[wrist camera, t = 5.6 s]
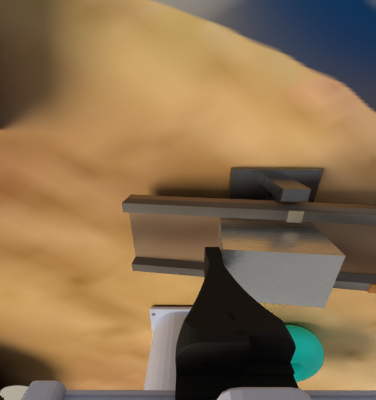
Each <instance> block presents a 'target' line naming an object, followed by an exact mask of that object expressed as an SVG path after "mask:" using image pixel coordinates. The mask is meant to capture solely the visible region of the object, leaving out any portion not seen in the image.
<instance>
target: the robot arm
mask: <svg viewBox="0 0 376 400" xmlns="http://www.w3.org/2000/svg"><path fill="white" fill-rule="evenodd" d="M204 277H205V279H204V282H203V285H202V288H201V290H200V292H199V295H198V297H197V299H196V301H195V302H194V304H193V306H192V307H151V308H150V319H151V327H152V335H153V338H152V344H151V350H150V355H149V361H148V367H147V373H146V379H145V385H144V390H66V388H65V385H64V384H63V383H62V382H60V381H33V382H32V383H31V384H30V386H29V388H28V389H27V391H26V393H25V394H24V396H23V398H22V399H21V400H376V391H323V390H301V389H299V388H298V385H297V383H296V381H295V378H294V376H293V375H294V374H295V373H294V369H293V367H292V365H291V360H292V358H293V355H294V353H295V349H296V345H295V342H294V340H293V338H292V336H291V334H290V332H289V331H288V329H287V327H286V326H285V324H284V322H283V321H282V320H280V319H279V318H278V317H276V316H275V315H274V314H272V313H271V312H269V311H268V310H267V309H265V308H264V307H263V306H262V305H260V304H259V303H258V302H257V301H256V300H255V299H254V298H253V297H251V296H250V295H249V294H248V293H247V292H246V291H245V290H244V289H243V288H242V287H241V286H240V285H239V283H238V282H237V281H236V280H235V279H234V278H233V276H232V275H231V274H230V273H229V271H228V270H227V268H226V267H225V266H224V264H223V259H222V253H221V250H220V248H219V247H205V251H204Z"/></svg>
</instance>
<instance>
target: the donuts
mask: <svg viewBox="0 0 376 400" xmlns="http://www.w3.org/2000/svg"><path fill="white" fill-rule="evenodd" d="M285 326H286V327H287V329H288V331H289V332H290V334H291V336H292V338H293V340H294V342H295V345H296V349H295V353H294V355H293V358H292V360H291V365H292V367H293V369H294V373H295V374H294V375H293V376H294V378H295V381H296V382H299V381H302V380H305V379H308V378H310V377H311V376H313V375H314V374H316V373H317V372H318V370H319V369H320V368H321V366H322V364H323V361H324V350H323V347H322V344H321V342H320V341H319V339H318V338H317V337H316V336H315V335H314V334H313V333H312V332H310V331H309V330H307V329H305V328H302V327H299V326H295V325H285Z"/></svg>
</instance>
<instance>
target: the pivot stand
mask: <svg viewBox="0 0 376 400" xmlns="http://www.w3.org/2000/svg"><path fill="white" fill-rule="evenodd" d="M322 172H323V169H320V168H231V172H230V183H229V193H228V199H246V200H270V201H280V202H313V201H314V198H315V194H316V191H317V188H318V185H319V181H320V178H321V175H322Z"/></svg>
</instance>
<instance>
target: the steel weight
mask: <svg viewBox="0 0 376 400" xmlns="http://www.w3.org/2000/svg"><path fill="white" fill-rule="evenodd" d="M218 247H219V248H220V250H221V253H222V259H223V264H224V266H225V267H226V268H227V270H228V271H229V273H230V274H231V275H232V276H233V278H234V279H235V280H236V281H237V282H238V283H239V285H240V286H241V287H242V288H243V289H244V290H245V291H246V292H247V293H248V294H249V295H250V296H251V297H253V298H254V299H255V300H256V301H257V302H262V303H274V304H286V305H298V306H310V307H322V308H324V307H325V305H326V302H327V300H328V297H329V295H330V292H331V290H332V288H333V285H334V283H335V280H336V278H337V276H338V273H339V271H340V268H341V266H342V264H343V261H344V259H345V255H344V254H343V253H342V252H341V251H340V250H339V249H338V248H337V247H336V246H335V245H334V244H333V243H332V242H331V241H330V240H329V239H328V238H327V237H326V236H325V235H324V234H323V233H321V232H320V231H319V230H318V229H317V228H316V227H315V226H314V225H313V224H312V223H311V222H301V223H294V222H286V221H282V220H259V219H232V218H220V221H219V238H218Z"/></svg>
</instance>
